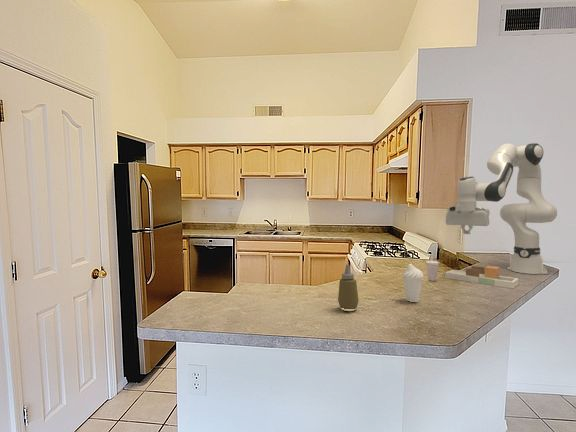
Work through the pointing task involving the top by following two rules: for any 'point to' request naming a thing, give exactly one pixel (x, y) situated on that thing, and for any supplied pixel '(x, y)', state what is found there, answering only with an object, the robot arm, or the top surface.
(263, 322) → the top surface
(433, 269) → the smoothie
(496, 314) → the top surface
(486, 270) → the block
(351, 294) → the squeeze bottle
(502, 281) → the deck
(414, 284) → the soft serve ice cream cone
